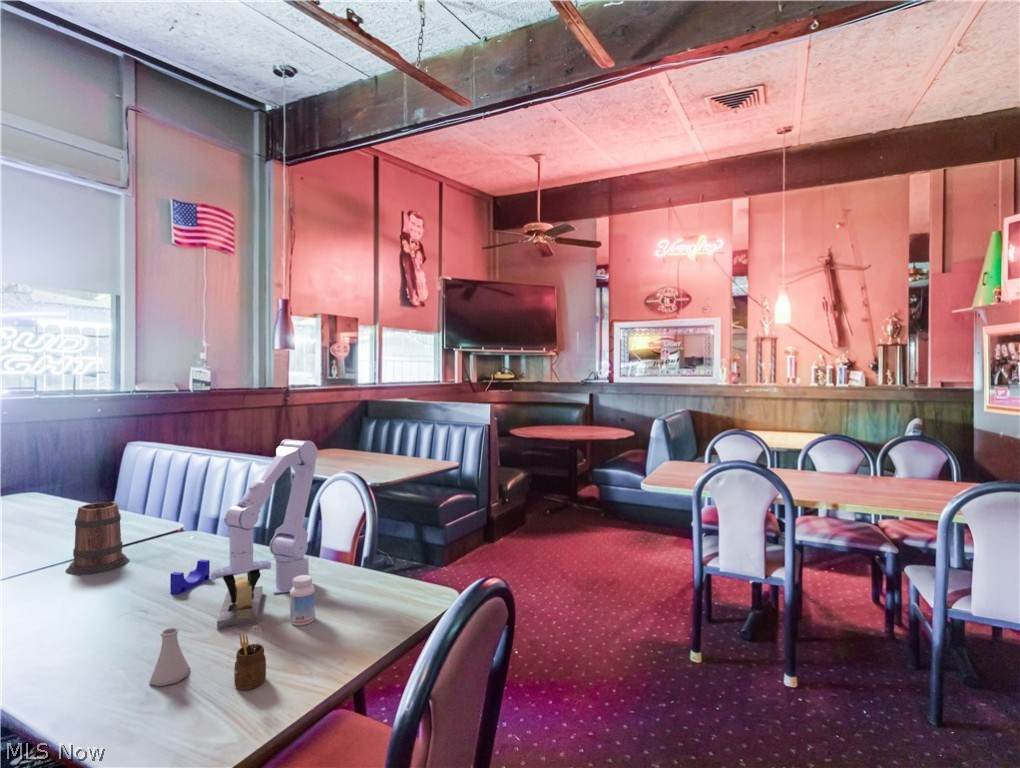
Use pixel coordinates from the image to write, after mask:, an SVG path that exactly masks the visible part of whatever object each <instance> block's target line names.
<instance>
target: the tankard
mask: <svg viewBox="0 0 1020 768" xmlns="http://www.w3.org/2000/svg"><path fill="white" fill-rule="evenodd" d="M121 514H122V513H120V510H119V507H118V503H117V502H116V501H108V502H95V503H89V504H88V503H87V504H84V505H82V506H79V507H78V509H77V513H76V518H75V519H74V527H75V528H74V529H75V534H74V548H73V551H72V554H73V555H72V557H73V561H71V562H70V564H69V566H68V567H67V568H66V569H65V574H67V575H71V576H88V575H89V576H90V575H97V574H101V573H107V572H110V571H114V570H117V569H121V568H123V567H125V566H127V565H128V564H129V563H130V562H131V560H130V558H129V557H127V555H126V554H124V553H123V541H122V531H121V529H122V528H121V519H122V517H121V516H122V515H121Z"/></svg>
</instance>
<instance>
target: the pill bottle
mask: <svg viewBox="0 0 1020 768" xmlns="http://www.w3.org/2000/svg"><path fill="white" fill-rule="evenodd" d="M312 583H313V577H312V576H311V575H300V576H297V577H295V578H294V579H293V586H294V587H293V588H292V589H291V590H290V592H289V621H290V624H291V625H293V626H305V625H309V624H310V623H312V622H313V621H314V620H315V618H316V587H315V586H314V585H313V584H312Z"/></svg>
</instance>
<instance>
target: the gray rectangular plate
mask: <svg viewBox="0 0 1020 768" xmlns="http://www.w3.org/2000/svg"><path fill="white" fill-rule="evenodd" d="M263 588H264V587H263V586H262V585H261V586H255V588H254V591H253V595H252V606H250V607H246V608H241V609H237V608H236V601H235V603H233V604H232V602H231V597H230V593H229V590H228V589H227V592H226V595H225V597H224V601H223V604H222V606H221V609H220V612H219V615H218V617H217V620H216V630H223V629H231V628H238V627H244V626H252V625H257V623H258V618H259V614H260V608H261V603H262V599H263V591H264V589H263Z"/></svg>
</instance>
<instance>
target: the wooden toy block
mask: <svg viewBox="0 0 1020 768" xmlns="http://www.w3.org/2000/svg"><path fill="white" fill-rule="evenodd" d="M234 579H235V581H236V582H235V601H236V608H237V609H241V608H246V607H250V606H252V585H251V584H250V582H249V581H248V578H247V575H246V576H241V577H234Z"/></svg>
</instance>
